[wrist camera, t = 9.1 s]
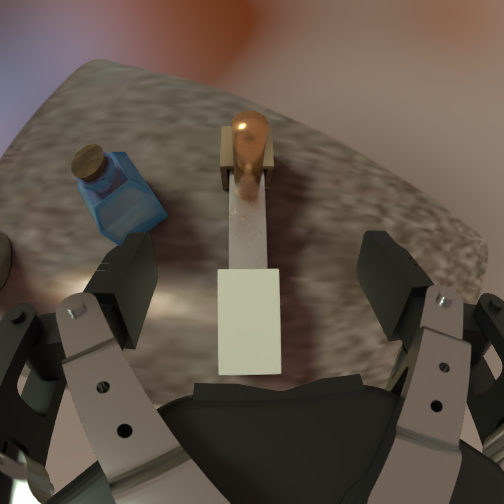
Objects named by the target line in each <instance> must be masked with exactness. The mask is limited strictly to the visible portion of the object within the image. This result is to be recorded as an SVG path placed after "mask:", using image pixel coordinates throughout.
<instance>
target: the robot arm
mask: <svg viewBox="0 0 504 504" xmlns="http://www.w3.org/2000/svg"><path fill="white" fill-rule="evenodd" d="M10 265H11V246H10V242H9V240H8V238H7V236H6V235H5V234H4V233H2V232H0V289H1V288H2V287H3V285H4V283H5V281H6V279H7V277H8V274H9V270H10ZM157 278H158V271H157V265H156V260H155V254H154V249H153V243H152V238H151V235H150V233H149V232H135V233H129V234H128V235H127V237H126V238H125V240H124V241H123V243H122V244H121V246H116V247H115V248H114V249H112V250H111V251H110V252H108V253H107V255H106V256H105V258H104V259H103V261H102V264H100V265H99V267H98V268H97V271H95V273H94V275H93V276H92V278H91V279H90V281H89V283H88V284H87V286H86V288H85V289H84V291H83V292H82V293H76V294H73V295H71V296H69V297H67V298H66V299H64V300H63V301H62V302H61V303H60V304H59V306H58V307H57V310H56V313H51V314H45V315H40V316H38V314H37V312H36V310H35V308H34V307H33V306H32V305H31V304H28V303H23V304H19V305H17V306H15V307H13V308H12V309H10V310H9V311H8V312H7V313H6V314H5V316H4V317H3V319H2V320H1V322H0V504H504V301H503V300H502V299H500V298H499V297H497V296H495V295H493V294H489V293H485V294H482V295H481V297H480V298H479V300H478V302H477V304H476V305H472V304H466V303H463V301H462V299H461V297H460V296H459V295H458V294H457V293H456V292H455V291H454V290H452V289H451V288H449V287H446V286H443V285H435V284H434V283H433V282H432V281H431V279H430V278H429V277H428V276H427V274H426V273H425V272H424V270H423V269H422V268H421V267H420V266H418V263H417V262H416V261H415V259H413V257H412V256H411V255H410V253H409V252H408V251H407V250H406V249H404V248H403V247H401V246H400V245H398V244H397V243H395V241H394V240H393V239H392V238H391V237H390V236H389V234H388V233H387V232H386V231H366V232H365V234H364V237H363V241H362V246H361V250H360V255H359V259H358V263H357V278H358V281H359V283H360V285H361V287H362V289H363V291H364V293H365V294H366V296H367V298H368V300H369V302H370V304H371V306H372V308H373V310H374V312H375V314H376V316H377V318H378V320H379V322H380V324H381V326H382V328H383V331H384V333H385V335H386V337H387V339H388V341H395V340H402V342H403V343H402V345H401V347H400V349H399V352H398V355H397V358H396V361H395V364H394V366H393V369H392V372H391V375H390V377H389V380H388V383H387V385H386V388H385V390H384V389H381V388H378V387H373V386H368V385H363V382H362V379H361V376H360V374H355V375H348V376H340V377H332V378H324V379H320V380H317V381H314V382H311V383H308V384H305V385H302V386H299V387H295V388H292V389H289V390H285V391H274V390H268V389H262V388H256V387H251V386H246V385H241V384H208V383H194V392H193V395H190V396H185V397H182V398H179V399H176V400H173V401H171V402H169V403H167V404H165V405H163V406H161V407H160V408H158V409H157V410H156V409H155V407H154V406H153V404H152V402H151V401H150V399H149V398H148V396H147V394H146V393H145V391H144V389H143V388H142V386H141V384H140V383H139V381H138V379H137V377H136V376H135V374H134V372H133V370H132V369H131V367H130V365H129V363H128V361H127V359H126V358H125V356H124V354H123V349H124V348H126V349H136V345H137V342H138V339H139V336H140V332H141V329H142V326H143V323H144V320H145V317H146V314H147V311H148V308H149V305H150V302H151V299H152V296H153V293H154V290H155V287H156V284H157ZM491 344H492V345H493V347H494V349H495V350H496V352H497V354H498V356H499V357H500V359H501V361H502V372H501V375H500V376H499V377H498V378H497V380H495V378H494V376H493V374H492V372H491V370H490V368H489V366H488V364H487V362H486V361H485V359H484V357H483V356H484V355H485V353H486V352H487V350H488V349H489V347H490V346H491ZM25 363H26V365H27V366H28V367H29V369H30V370H31V371H30V373H29V376H28V378H27V381H26V383H25V386H24V389H23V391H22V394H21V397H20V395H19V393H18V389H17V382H18V379H19V376H20V374H21V372H22V369H23V367H24V365H25ZM66 383H68V386H69V389H70V392H71V395H72V398H73V401H74V404H75V407H76V410H77V412H78V415H79V418H80V420H81V423H82V425H83V428H84V430H85V432H86V435H87V437H88V439H89V442H90V444H91V446H92V449H93V451H94V453H95V455H96V457H97V459H98V460H97V461H96V462H95V463H93V464H92V465H91V466H90V467H89V468H87V469H86V470H85V471H84V472H83V473H81V474H80V475H79V476H78V477H76V478H75V479H74V480H73V481H71V482H70V483H69V484H68V485H66V486H65V487H64V488H62V489H61V490H60V491H59V492H57V493H56V494H55V495H53V494H54V487H53V485H52V484H51V482H50V478H49V475H48V473H47V471H46V469H45V465H46V460H47V454H48V450H49V445H50V441H51V436H52V433H53V429H54V425H55V421H56V417H57V413H58V410H59V406H60V403H61V399H62V396H63V393H64V390H65V386H66ZM466 402H467V405H468V407H469V410H470V412H471V415H472V418H473V420H474V423H475V426H476V428H477V431H478V434H479V437H480V440H481V443H482V446H483V452H482V453H481V452H479V451H478V450H476V449H475V448H473V447H472V446H470V445H469V444H467V443H466V442H464V441H463V440H461V439H460V435H461V430H462V424H463V419H464V414H465V407H466Z"/></svg>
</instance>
